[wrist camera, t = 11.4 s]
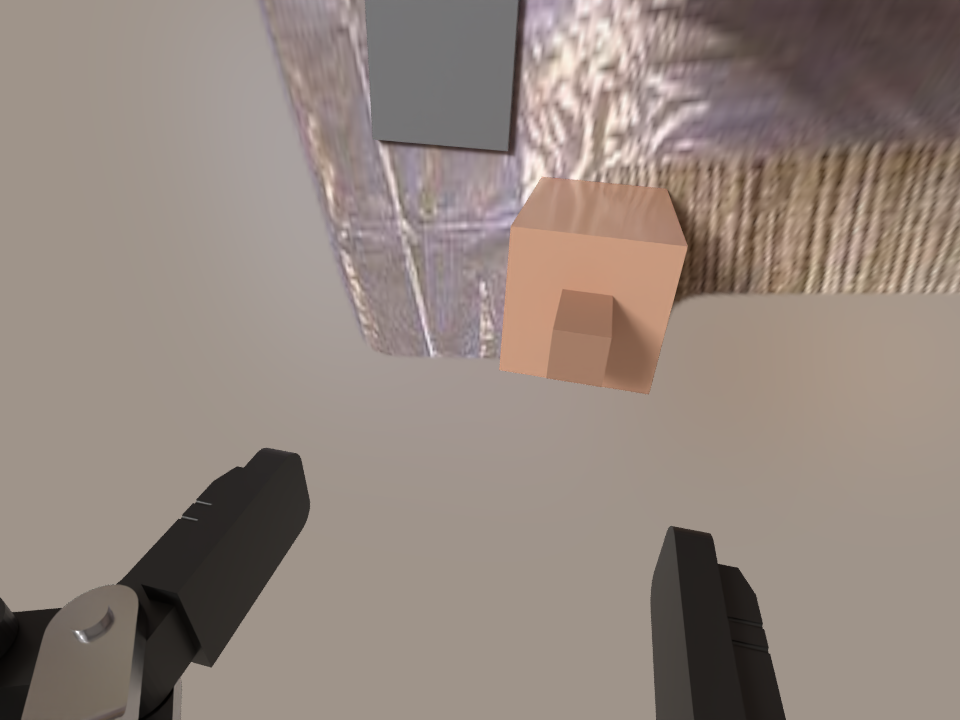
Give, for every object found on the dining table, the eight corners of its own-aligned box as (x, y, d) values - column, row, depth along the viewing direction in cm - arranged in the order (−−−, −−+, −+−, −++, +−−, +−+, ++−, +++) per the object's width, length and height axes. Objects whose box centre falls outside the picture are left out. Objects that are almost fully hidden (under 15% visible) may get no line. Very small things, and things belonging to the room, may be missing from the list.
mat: (521, -26, 32) (520, -27, 31) (509, 149, 37) (507, 151, 36) (367, -30, 33) (363, -32, 33) (375, 138, 38) (372, 139, 38)
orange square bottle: (666, 188, 36) (701, 283, 21) (640, 303, 40) (654, 448, 25) (542, 176, 37) (491, 257, 22) (530, 288, 41) (481, 417, 27)
